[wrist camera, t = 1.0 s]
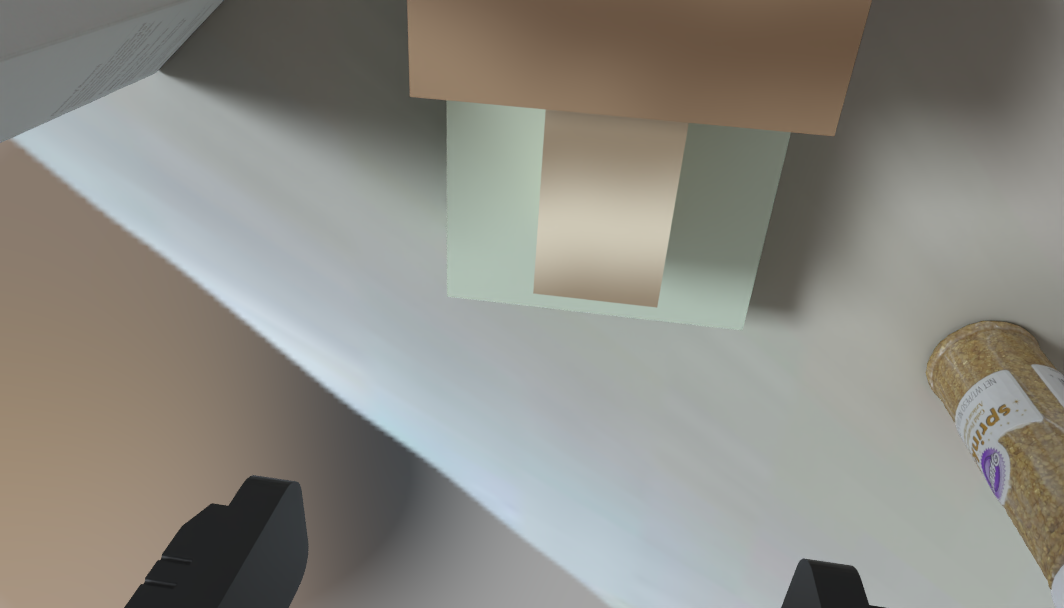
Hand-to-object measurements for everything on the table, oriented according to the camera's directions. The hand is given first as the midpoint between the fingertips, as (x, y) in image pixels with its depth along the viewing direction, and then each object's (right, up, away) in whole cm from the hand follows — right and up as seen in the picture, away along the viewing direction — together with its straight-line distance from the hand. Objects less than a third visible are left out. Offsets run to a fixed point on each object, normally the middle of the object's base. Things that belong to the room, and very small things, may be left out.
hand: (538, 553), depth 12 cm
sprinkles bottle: (+19, +2, +20) cm, 28 cm away
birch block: (+3, +12, +13) cm, 18 cm away
